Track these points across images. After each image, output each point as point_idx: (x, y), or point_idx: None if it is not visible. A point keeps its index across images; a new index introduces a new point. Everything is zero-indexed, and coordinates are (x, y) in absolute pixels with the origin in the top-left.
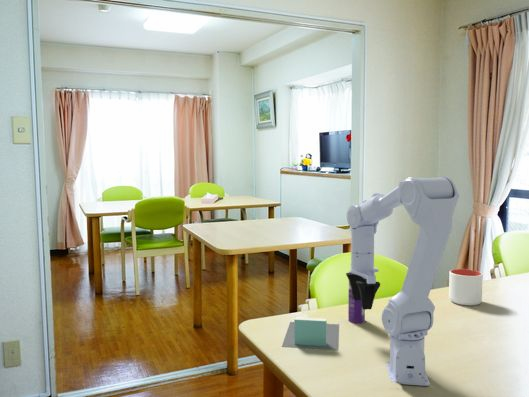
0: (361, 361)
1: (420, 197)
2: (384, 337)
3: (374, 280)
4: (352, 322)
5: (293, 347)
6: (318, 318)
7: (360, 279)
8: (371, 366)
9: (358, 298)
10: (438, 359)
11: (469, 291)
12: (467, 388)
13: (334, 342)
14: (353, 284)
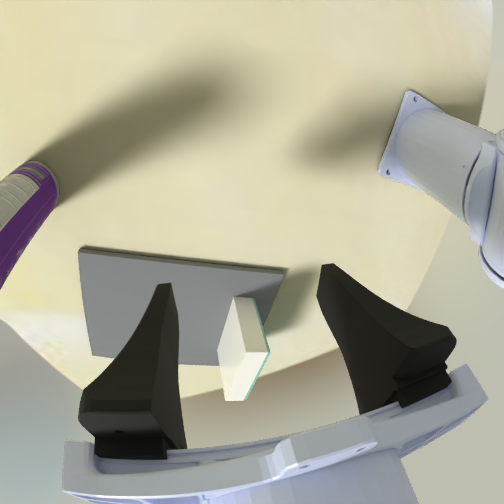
0: (343, 225)
1: None
2: (174, 108)
3: (472, 381)
4: (53, 208)
5: None
6: (242, 367)
7: (167, 397)
8: (372, 209)
9: (174, 304)
10: (373, 17)
11: None
12: (480, 65)
13: (230, 279)
14: (177, 392)
